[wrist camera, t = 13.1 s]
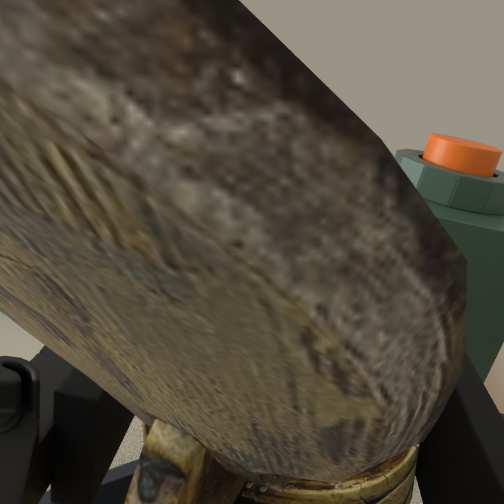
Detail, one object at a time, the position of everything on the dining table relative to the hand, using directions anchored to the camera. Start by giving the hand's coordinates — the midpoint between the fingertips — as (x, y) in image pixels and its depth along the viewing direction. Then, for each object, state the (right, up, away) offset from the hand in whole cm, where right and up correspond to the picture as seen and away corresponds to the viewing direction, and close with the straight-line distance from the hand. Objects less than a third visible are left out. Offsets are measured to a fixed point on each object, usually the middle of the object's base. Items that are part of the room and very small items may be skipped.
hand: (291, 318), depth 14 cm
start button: (+11, +7, +13) cm, 18 cm away
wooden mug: (-3, -11, -1) cm, 11 cm away
